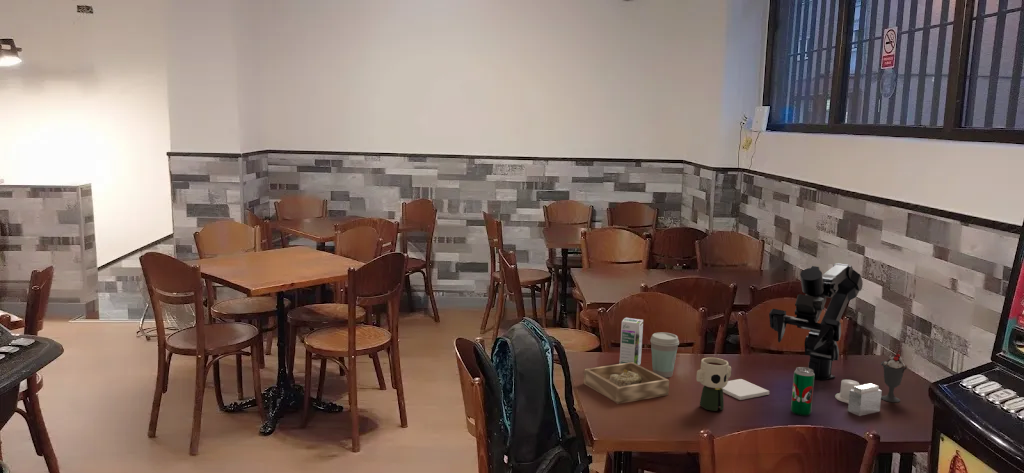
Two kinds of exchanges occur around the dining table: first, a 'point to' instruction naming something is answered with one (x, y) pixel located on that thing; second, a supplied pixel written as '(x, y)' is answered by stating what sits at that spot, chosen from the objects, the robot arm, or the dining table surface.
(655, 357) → the coffee cup
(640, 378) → the coiled snake
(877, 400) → the napkin holder
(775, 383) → the dining table surface
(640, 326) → the syrup box
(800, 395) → the soda can
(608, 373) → the bread tray
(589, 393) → the dining table surface
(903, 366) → the sundae
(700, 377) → the character mug
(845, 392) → the white flanged peg
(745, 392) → the coaster
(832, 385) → the dining table surface
